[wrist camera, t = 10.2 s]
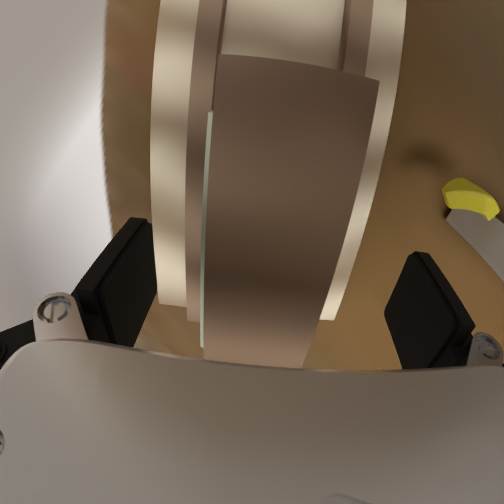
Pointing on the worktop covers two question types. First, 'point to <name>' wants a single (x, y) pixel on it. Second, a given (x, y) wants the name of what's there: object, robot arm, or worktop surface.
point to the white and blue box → (476, 220)
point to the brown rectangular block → (277, 202)
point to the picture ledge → (202, 101)
